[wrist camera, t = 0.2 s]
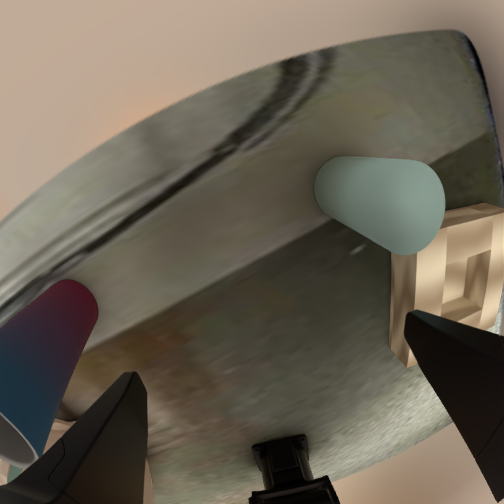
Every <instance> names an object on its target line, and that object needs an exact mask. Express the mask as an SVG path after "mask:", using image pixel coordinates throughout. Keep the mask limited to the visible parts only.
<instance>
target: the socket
mask: <svg viewBox="0 0 504 504" xmlns="http://www.w3.org/2000/svg"><path fill="white" fill-rule="evenodd" d="M503 282H504V209H503V208H500V207H497V206H493V205H490V204H487V203H481V204H476V205H471V206H466V207H462V208H457V209H452V210H447V211H445V213H444V218H443V222H442V225H441V227H440V229H439V231H438V233H437V235H436V236H435V238H434V239H433V241H432V242H431V243H430V244H429V245H428V246H427V247H426V248H424V249H423V250H421V251H419V252H417V253H415V254H411V255H398V254H395V253H392V252H391V309H390V328H389V342H388V346H389V347H390V349H391V350H392V351H393V352H394V353H395V355H396V356H397V357H398V358H399V359H400V361H401V362H402V363H403V364H404V365H405V367H406V368H409V367H411V366H413V365H416V364H418V363H417V361H416V359H415V357H414V355H413V353H412V351H411V349H410V347H409V345H408V343H407V342H406V340H405V337H404V325H405V317H406V314H407V313H408V312H410V311H413V310H416V309H418V310H421V311H425V312H428V313H431V314H434V315H437V316H440V317H444V318H447V319H450V320H453V321H456V322H460V323H463V324H466V325H469V326H472V327H476V328H479V329H482V330H486V329H488V328H490V327H492V326H493V325H495V321H496V317H497V312H498V308H499V303H500V298H501V293H502V287H503Z"/></svg>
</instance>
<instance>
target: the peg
mask: <svg viewBox="0 0 504 504" xmlns="http://www.w3.org/2000/svg"><path fill="white" fill-rule="evenodd" d="M314 194H315V198H316V201H317V203H318V205H319V207H320V208H321V209H322V211H323V212H324V213H326V214H327V215H328V216H330V217H332V218H334V219H335V220H337V221H339V222H341V223H343V224H344V225H346V226H348V227H350V228H351V229H353V230H355V231H357V232H358V233H360V234H362V235H363V236H365V237H367V238H369V239H370V240H372V241H374V242H375V243H377V244H379V245H380V246H382V247H384V248H385V249H387V250H389V251H390V252H392V253H395V254H398V255H411V254H415V253H417V252H419V251H421V250H423V249H424V248H426V247H427V246H428V245H429V244H430V243H431V242H432V241H433V239H434V238H435V236H436V235H437V233H438V231H439V229H440V227H441V225H442V222H443V218H444V213H445V195H444V190H443V187H442V184H441V182H440V180H439V178H438V176H437V175H436V173H435V172H434V171H433V170H432V169H431V168H430V167H429V166H428V165H426V164H424V163H422V162H419V161H415V160H405V159H392V158H377V157H358V156H338V157H334V158H332V159H330V160H328V161H327V162H326V163H324V164H323V165H322V167H321V168H320V169H319V171H318V173H317V175H316V178H315V182H314Z"/></svg>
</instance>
